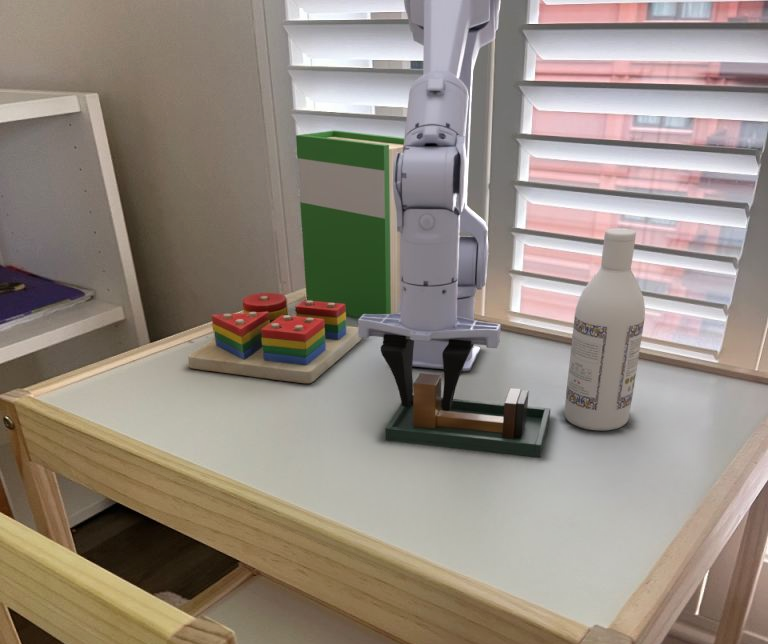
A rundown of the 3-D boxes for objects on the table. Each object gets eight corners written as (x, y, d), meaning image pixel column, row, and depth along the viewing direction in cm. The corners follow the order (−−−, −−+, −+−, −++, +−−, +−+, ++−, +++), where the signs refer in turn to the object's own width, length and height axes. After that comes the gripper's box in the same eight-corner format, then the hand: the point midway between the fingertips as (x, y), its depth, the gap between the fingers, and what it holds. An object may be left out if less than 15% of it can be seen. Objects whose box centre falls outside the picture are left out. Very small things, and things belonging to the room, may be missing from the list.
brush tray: (385, 440, 85) (385, 428, 84) (407, 405, 92) (406, 394, 92) (539, 457, 81) (541, 445, 80) (549, 419, 88) (550, 408, 88)
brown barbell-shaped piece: (412, 428, 86) (412, 385, 83) (420, 413, 89) (421, 371, 87) (521, 440, 83) (524, 395, 81) (526, 424, 87) (529, 380, 84)
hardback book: (421, 315, 120) (422, 139, 108) (386, 326, 116) (384, 145, 103) (341, 292, 131) (334, 130, 118) (306, 302, 126) (295, 135, 114)
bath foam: (619, 405, 91) (646, 222, 81) (635, 432, 85) (667, 238, 75) (558, 406, 91) (577, 223, 81) (570, 433, 85) (592, 239, 75)
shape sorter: (310, 385, 98) (307, 337, 95) (187, 368, 103) (180, 322, 100) (363, 338, 112) (361, 295, 108) (252, 326, 117) (248, 284, 114)
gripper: (346, 284, 78) (351, 413, 85) (495, 294, 74) (488, 427, 81) (367, 266, 83) (370, 387, 91) (506, 274, 80) (498, 400, 87)
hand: (427, 405), depth 86 cm, fingers open, 4 cm apart
